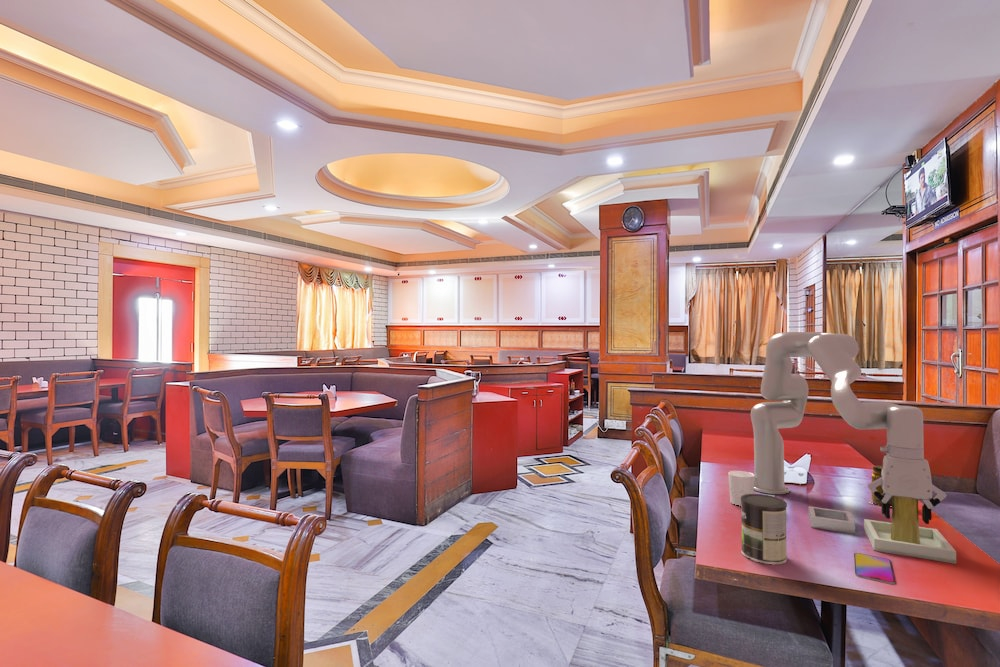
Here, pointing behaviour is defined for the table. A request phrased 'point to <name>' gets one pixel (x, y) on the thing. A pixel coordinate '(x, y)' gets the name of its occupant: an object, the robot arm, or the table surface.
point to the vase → (905, 520)
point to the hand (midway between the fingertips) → (906, 519)
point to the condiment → (876, 475)
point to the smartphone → (873, 568)
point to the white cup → (740, 485)
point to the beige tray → (929, 547)
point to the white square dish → (831, 520)
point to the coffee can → (764, 528)
